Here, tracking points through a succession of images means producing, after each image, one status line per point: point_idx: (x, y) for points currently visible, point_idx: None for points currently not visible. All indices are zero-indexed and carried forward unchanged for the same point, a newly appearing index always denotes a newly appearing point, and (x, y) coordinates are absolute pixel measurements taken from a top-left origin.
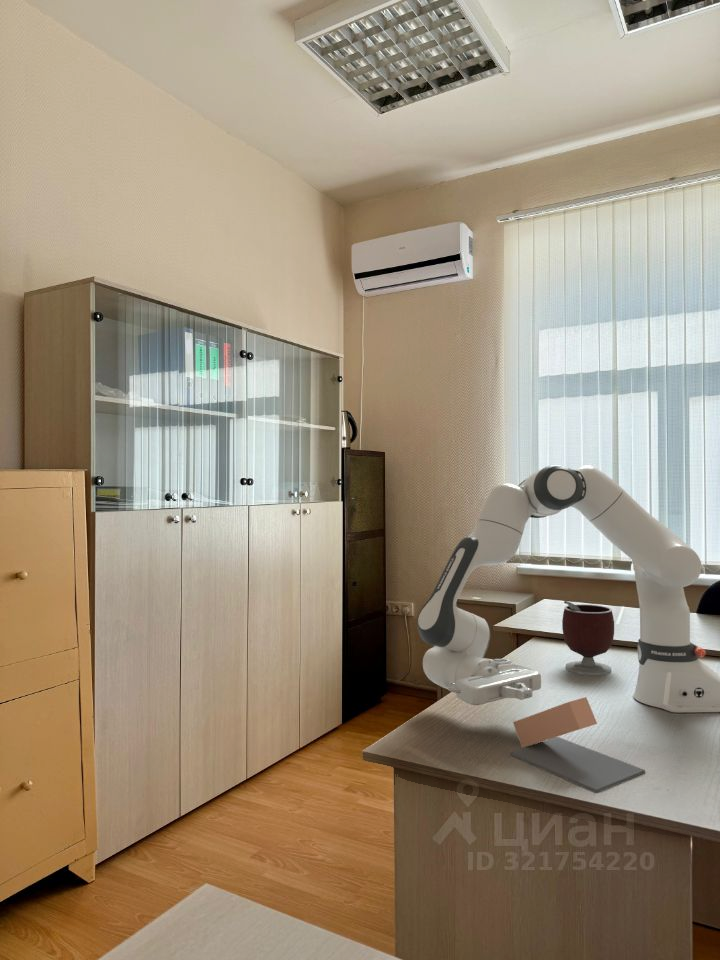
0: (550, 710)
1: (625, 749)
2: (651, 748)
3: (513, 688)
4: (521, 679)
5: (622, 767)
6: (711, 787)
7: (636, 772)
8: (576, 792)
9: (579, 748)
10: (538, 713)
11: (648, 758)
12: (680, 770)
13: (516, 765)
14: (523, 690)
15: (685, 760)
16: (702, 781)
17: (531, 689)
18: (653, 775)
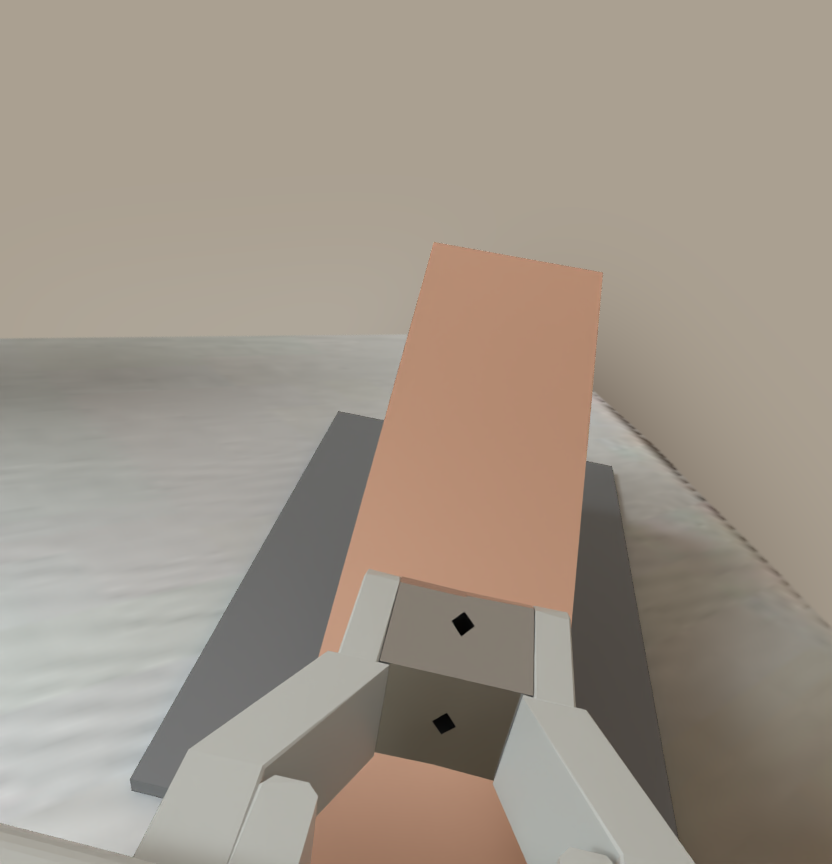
0: (588, 425)
1: (123, 488)
2: (57, 434)
3: (587, 751)
4: (26, 830)
5: (370, 451)
6: (318, 335)
7: (379, 422)
8: (668, 510)
9: (277, 601)
10: (577, 541)
11: (188, 428)
12: (244, 372)
13: (746, 785)
14: (520, 609)
15: (141, 370)
16: (292, 344)
17: (373, 571)
18: (340, 406)
